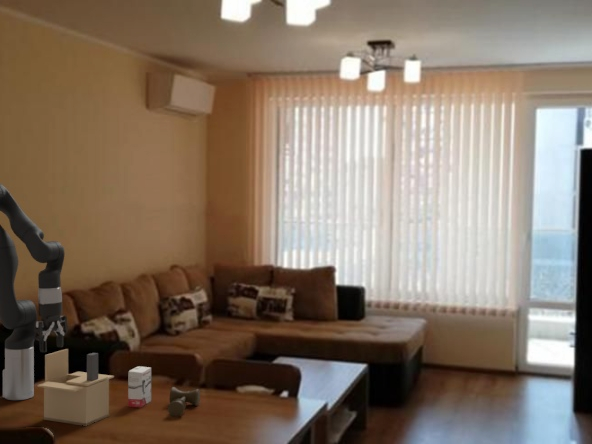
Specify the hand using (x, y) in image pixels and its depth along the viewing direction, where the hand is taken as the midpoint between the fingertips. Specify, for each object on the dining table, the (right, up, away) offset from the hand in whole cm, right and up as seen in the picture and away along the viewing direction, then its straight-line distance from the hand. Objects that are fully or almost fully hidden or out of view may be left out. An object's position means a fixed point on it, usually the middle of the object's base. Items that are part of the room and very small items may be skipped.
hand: (51, 349), depth 244 cm
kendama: (+44, -19, -4) cm, 48 cm away
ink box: (+29, -18, 0) cm, 35 cm away
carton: (+13, -18, -16) cm, 28 cm away
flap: (+17, -7, -18) cm, 26 cm away
